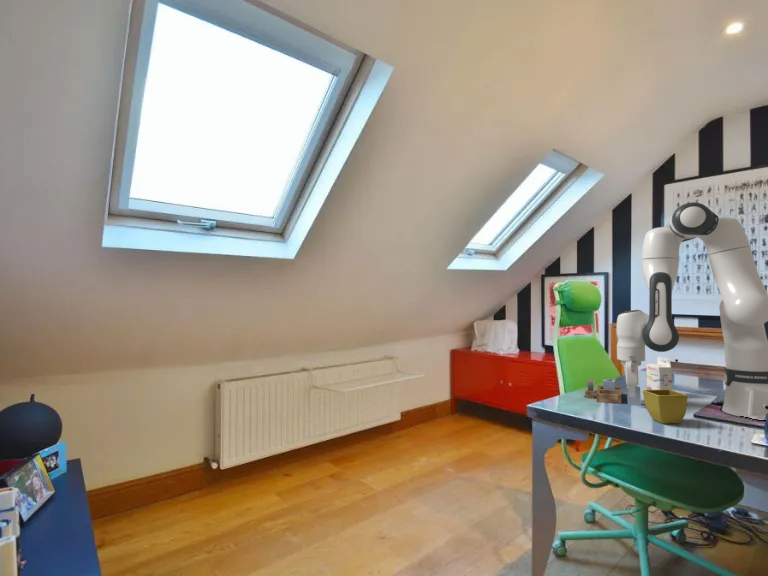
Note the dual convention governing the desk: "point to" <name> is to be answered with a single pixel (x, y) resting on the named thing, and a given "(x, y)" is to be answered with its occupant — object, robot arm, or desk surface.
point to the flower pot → (665, 405)
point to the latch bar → (590, 385)
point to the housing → (605, 395)
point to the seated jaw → (608, 384)
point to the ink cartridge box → (659, 375)
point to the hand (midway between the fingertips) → (631, 393)
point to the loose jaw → (636, 399)
